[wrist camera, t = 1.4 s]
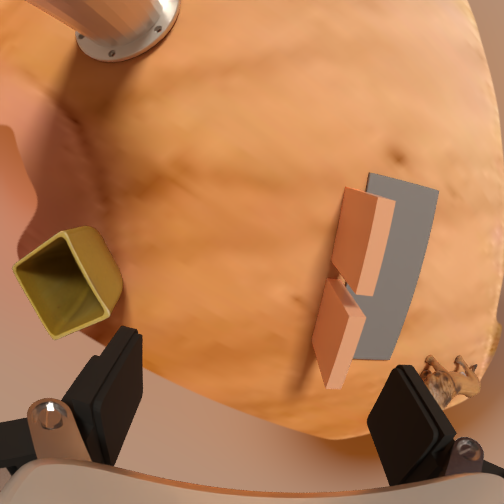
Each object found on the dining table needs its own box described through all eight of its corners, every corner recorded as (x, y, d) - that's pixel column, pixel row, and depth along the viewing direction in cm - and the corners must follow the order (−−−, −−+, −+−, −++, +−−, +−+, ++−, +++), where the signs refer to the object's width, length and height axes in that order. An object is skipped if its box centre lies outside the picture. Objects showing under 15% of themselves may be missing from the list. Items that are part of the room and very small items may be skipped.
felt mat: (369, 172, 31) (370, 172, 30) (437, 190, 31) (439, 190, 30) (325, 355, 37) (326, 357, 36) (388, 358, 37) (389, 359, 37)
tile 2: (345, 186, 31) (377, 197, 22) (360, 189, 31) (397, 201, 22) (330, 260, 33) (355, 294, 25) (345, 262, 33) (374, 296, 25)
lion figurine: (396, 385, 38) (419, 427, 30) (407, 354, 37) (436, 395, 28) (469, 375, 39) (496, 408, 30) (481, 348, 37) (512, 379, 29)
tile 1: (326, 277, 34) (349, 316, 25) (341, 279, 34) (367, 317, 25) (311, 340, 36) (325, 388, 27) (325, 341, 36) (342, 389, 27)
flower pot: (142, 281, 34) (111, 317, 25) (88, 305, 35) (52, 342, 26) (106, 211, 32) (63, 228, 23) (55, 243, 33) (10, 266, 24)
